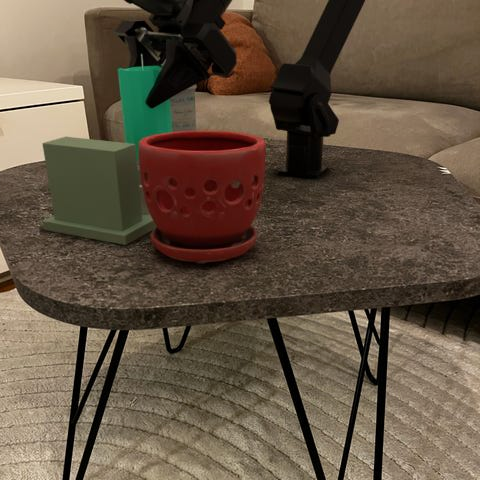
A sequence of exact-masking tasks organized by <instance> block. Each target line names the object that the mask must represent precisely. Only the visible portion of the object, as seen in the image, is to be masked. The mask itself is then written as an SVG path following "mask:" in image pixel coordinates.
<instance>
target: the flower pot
mask: <svg viewBox="0 0 480 480" xmlns="http://www.w3.org/2000/svg"><path fill="white" fill-rule="evenodd" d="M266 161H267V143H266V141H265V140H264V139H263V138H261V137H260V136H256V135H253V134H249V133H244V132H236V131H225V130H224V131H223V130H196V131H181V132H170V133H163V134H156V135H152V136H148V137H145V138H143V139H142V140H140V141H139V162H138V165H139V166H138V168H140V175H141V184H142V188H143V192H144V197H145V202H146V205H147V208H148V210H149V213H150V215H151V217H152V219H153V221H154V223H155V224H156V226H157V227H156V228H155V229H154V230H152V231H151V233H150V240H151V243H152V245H153V246H154V248H156V249H157V251H159V252H160V253H162V254H163V255H164V256H167V257H169V258H171V259H175V260H177V261H182V262H188V263H189V262H190V263H196V264H197V265H204V264H206V263H214V262H223V261H226V260H231V259H235V258H237V257H240V256H242V255H244V254H245V253H246V252H248V251H249V250H250V249H251V248H252V247H253V246H254V245H255V243H256V240H257V238H258V232H257V230H256V228H255V227H254V226H252V224H253V223H254V220H255V218H256V216H257V215H258V211H259V209H260V206H261V202H262V198H263V192H264V186H265V178H266V165H267V163H266ZM234 182H238V183H239V184H238V186H236V187H235V186H234V184H233V183H234Z"/></svg>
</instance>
